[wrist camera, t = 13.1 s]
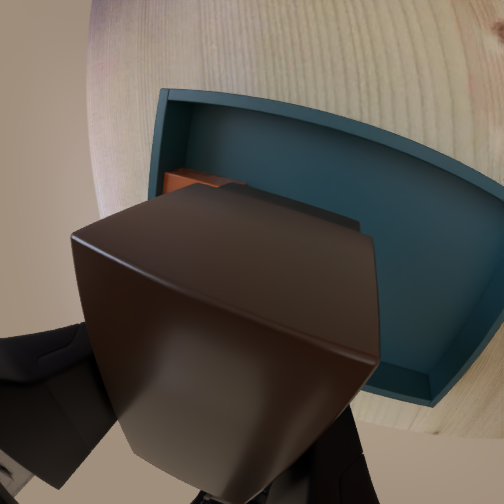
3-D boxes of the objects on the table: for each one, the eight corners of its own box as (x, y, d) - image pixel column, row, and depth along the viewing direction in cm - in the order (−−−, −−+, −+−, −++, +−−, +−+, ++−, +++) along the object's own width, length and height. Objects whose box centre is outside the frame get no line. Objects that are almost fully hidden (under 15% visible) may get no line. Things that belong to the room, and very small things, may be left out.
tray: (171, 282, 20) (146, 304, 18) (193, 93, 14) (160, 88, 11) (429, 375, 16) (433, 408, 13) (524, 204, 10) (552, 220, 7)
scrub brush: (199, 364, 11) (132, 452, 7) (225, 171, 7) (67, 231, 3) (287, 401, 10) (242, 506, 6) (371, 216, 7) (383, 362, 2)
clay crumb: (178, 228, 17) (158, 239, 16) (184, 166, 16) (163, 171, 14) (235, 249, 16) (219, 263, 15) (247, 182, 15) (232, 190, 13)
